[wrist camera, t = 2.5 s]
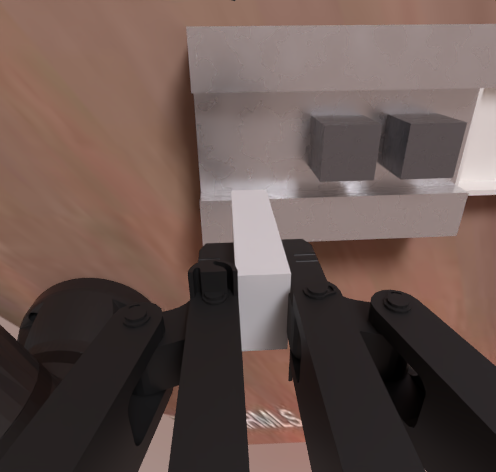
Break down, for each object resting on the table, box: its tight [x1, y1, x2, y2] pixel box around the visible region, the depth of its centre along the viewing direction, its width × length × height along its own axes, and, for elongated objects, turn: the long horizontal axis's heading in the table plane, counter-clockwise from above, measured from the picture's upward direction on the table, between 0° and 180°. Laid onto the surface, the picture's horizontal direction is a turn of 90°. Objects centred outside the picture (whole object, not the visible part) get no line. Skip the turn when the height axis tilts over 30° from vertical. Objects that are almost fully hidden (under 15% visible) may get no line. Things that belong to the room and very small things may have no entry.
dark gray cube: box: [309, 115, 382, 182], centre depth 28 cm, size 4×4×4 cm
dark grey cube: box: [380, 113, 467, 180], centre depth 28 cm, size 4×4×4 cm
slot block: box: [186, 24, 496, 246], centre depth 30 cm, size 16×22×6 cm
